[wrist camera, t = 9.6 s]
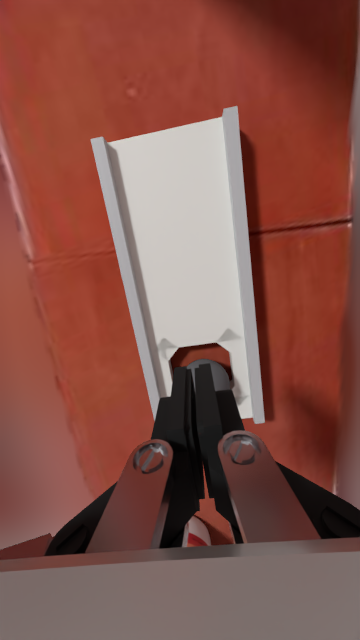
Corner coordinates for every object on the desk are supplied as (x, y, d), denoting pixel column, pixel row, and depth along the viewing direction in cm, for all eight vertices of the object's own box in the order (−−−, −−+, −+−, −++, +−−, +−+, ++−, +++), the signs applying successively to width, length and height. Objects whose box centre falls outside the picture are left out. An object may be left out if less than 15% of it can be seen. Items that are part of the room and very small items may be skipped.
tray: (99, 154, 20) (87, 140, 18) (234, 124, 19) (240, 105, 17) (158, 418, 27) (155, 434, 25) (260, 407, 26) (267, 422, 24)
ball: (185, 402, 26) (177, 359, 26) (229, 395, 25) (221, 351, 25) (184, 424, 21) (174, 370, 21) (238, 415, 20) (228, 361, 20)
